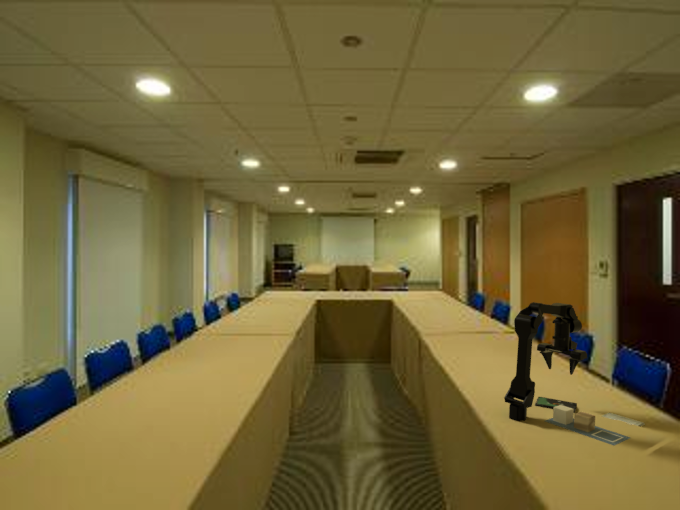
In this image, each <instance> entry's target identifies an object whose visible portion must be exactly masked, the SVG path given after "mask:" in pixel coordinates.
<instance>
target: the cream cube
mask: <svg viewBox="0 0 680 510" xmlns="http://www.w3.org/2000/svg"><path fill="white" fill-rule="evenodd" d="M552 410H553V413H552V418H553V421H556V422H559V423H562V424H565V425H567V424H569V423H572V422H573V419H574V414H575V413H574V409H573V408H569V407H566V406H563V405H559V406H556V407H553V409H552Z"/></svg>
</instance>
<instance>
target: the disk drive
mask: <svg viewBox="0 0 680 510" xmlns="http://www.w3.org/2000/svg"><path fill="white" fill-rule="evenodd" d="M559 405H563V406H566V407H569V408H573V409H574V413H573V414H575V413H576V410H577V407H578V403H577V402H573V401H572V402H571V401H566V400H560V399H555V398H549V397H546V396H545V397H544V396H537V399H536V401H535V403H534V406H535V407H539V408H546V409H551V410H553V407H556V406H559Z"/></svg>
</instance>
